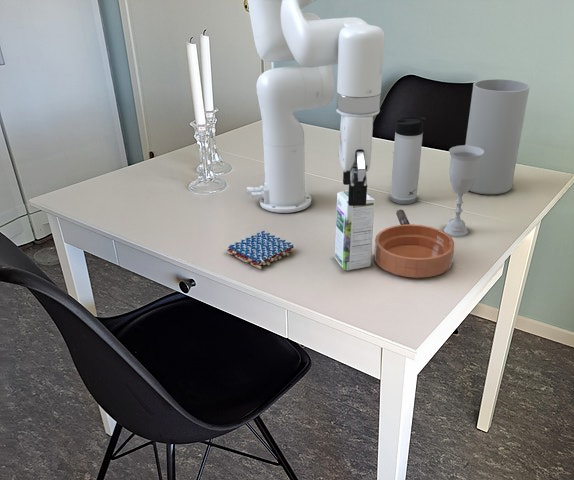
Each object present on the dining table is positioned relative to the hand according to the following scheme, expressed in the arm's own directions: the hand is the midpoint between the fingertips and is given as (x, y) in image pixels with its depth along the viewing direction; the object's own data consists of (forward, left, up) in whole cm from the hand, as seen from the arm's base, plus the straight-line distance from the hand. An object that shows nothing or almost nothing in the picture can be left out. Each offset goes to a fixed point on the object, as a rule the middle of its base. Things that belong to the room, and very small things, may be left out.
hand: (354, 194), depth 114 cm
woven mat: (-18, +5, -15) cm, 24 cm away
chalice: (+24, +13, -15) cm, 31 cm away
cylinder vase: (+38, +38, -15) cm, 55 cm away
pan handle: (+12, +11, -12) cm, 20 cm away
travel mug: (+16, +31, -15) cm, 38 cm away
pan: (+12, 0, -15) cm, 19 cm away
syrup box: (0, 0, -15) cm, 15 cm away
